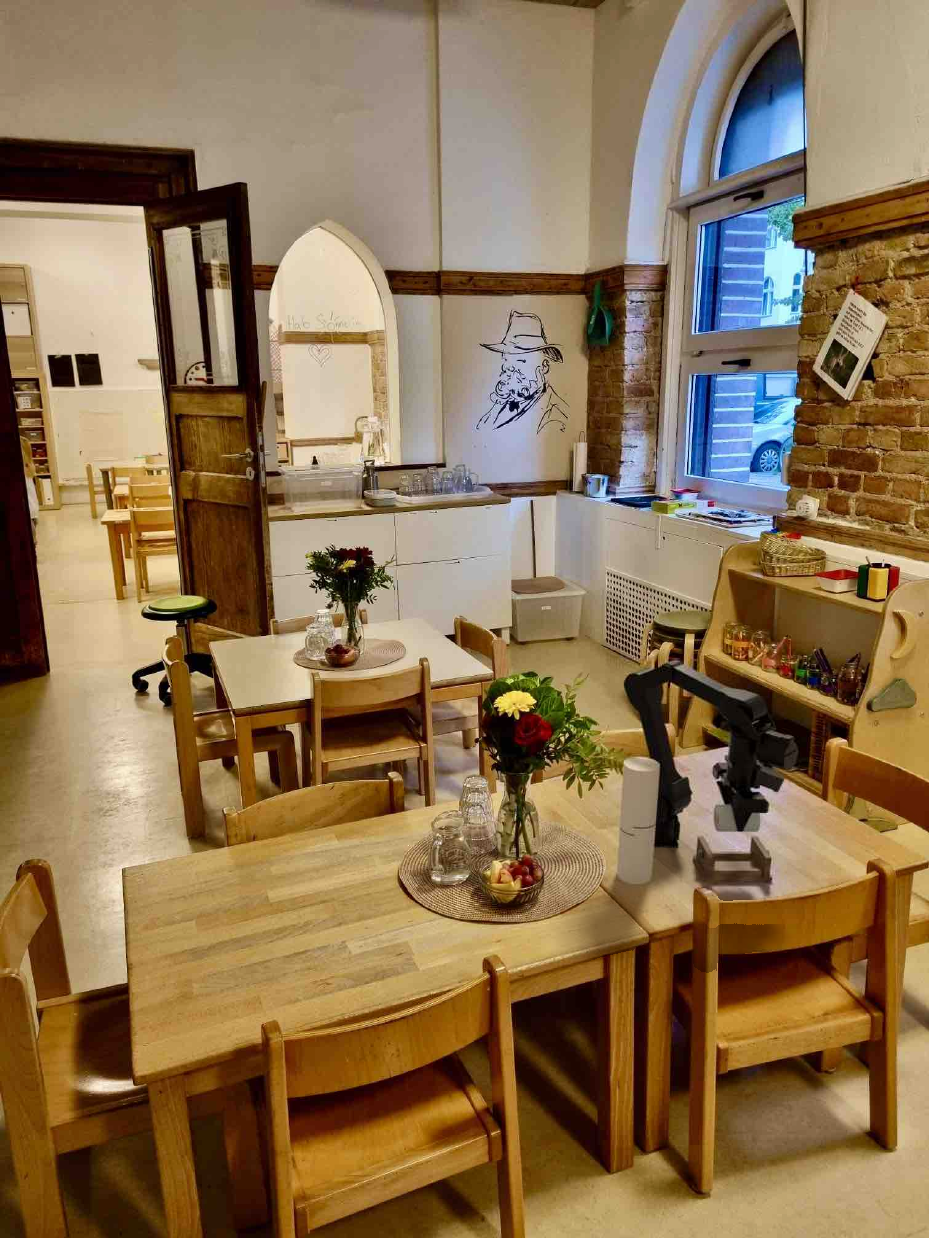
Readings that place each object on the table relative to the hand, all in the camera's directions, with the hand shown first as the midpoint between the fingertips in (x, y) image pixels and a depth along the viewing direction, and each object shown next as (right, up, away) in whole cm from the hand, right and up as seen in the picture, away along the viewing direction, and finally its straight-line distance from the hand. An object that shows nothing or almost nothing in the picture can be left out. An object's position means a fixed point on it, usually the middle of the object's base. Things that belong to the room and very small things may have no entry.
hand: (735, 824), depth 190 cm
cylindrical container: (-21, -11, 0) cm, 24 cm away
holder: (0, -10, +3) cm, 11 cm away
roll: (0, -1, 0) cm, 1 cm away
